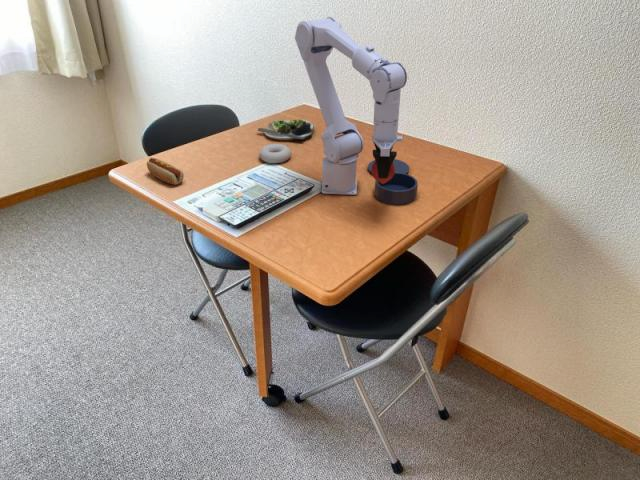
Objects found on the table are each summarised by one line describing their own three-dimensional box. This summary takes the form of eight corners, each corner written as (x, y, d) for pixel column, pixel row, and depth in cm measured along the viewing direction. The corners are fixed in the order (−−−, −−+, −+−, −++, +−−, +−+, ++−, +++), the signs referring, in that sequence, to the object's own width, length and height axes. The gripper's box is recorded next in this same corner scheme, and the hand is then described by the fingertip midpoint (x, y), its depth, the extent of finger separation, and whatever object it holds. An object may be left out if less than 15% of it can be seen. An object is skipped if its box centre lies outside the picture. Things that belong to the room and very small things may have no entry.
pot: (374, 203, 126) (375, 190, 124) (374, 184, 136) (375, 171, 133) (417, 205, 125) (419, 192, 123) (414, 185, 135) (415, 172, 132)
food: (144, 174, 141) (141, 159, 138) (160, 168, 144) (157, 153, 141) (172, 189, 133) (169, 173, 130) (188, 182, 137) (186, 166, 134)
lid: (367, 178, 138) (368, 164, 136) (367, 160, 148) (368, 146, 146) (410, 180, 137) (411, 165, 135) (407, 162, 148) (409, 148, 145)
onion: (367, 186, 119) (369, 156, 115) (374, 177, 123) (375, 147, 119) (390, 190, 117) (392, 159, 113) (396, 180, 122) (398, 150, 117)
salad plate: (254, 143, 160) (252, 130, 158) (261, 123, 175) (260, 111, 172) (311, 144, 159) (311, 130, 157) (314, 124, 174) (314, 112, 172)
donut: (255, 164, 147) (286, 166, 145) (254, 153, 145) (286, 155, 143) (265, 151, 155) (294, 153, 153) (264, 141, 153) (294, 142, 151)
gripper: (404, 130, 105) (400, 185, 112) (402, 109, 117) (398, 160, 124) (372, 129, 105) (370, 184, 113) (373, 108, 117) (370, 159, 125)
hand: (382, 172), depth 119 cm, fingers closed on onion, 6 cm apart
